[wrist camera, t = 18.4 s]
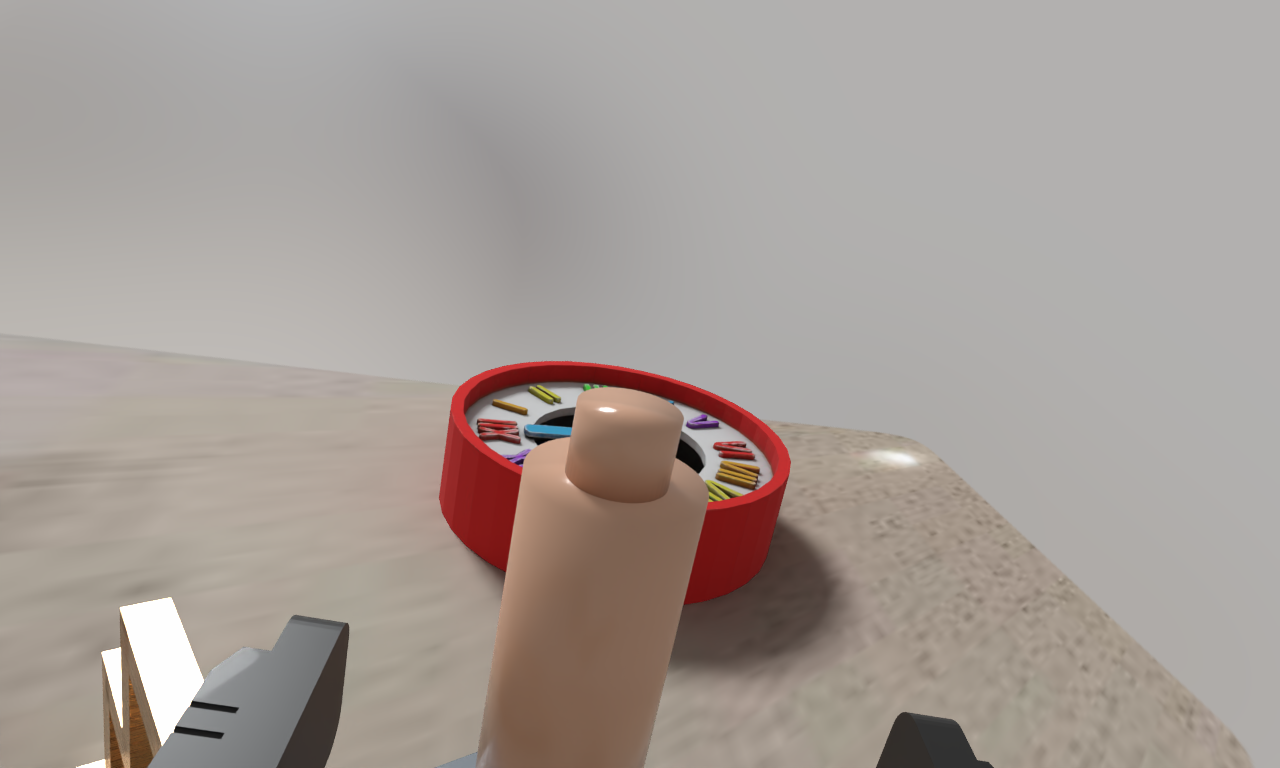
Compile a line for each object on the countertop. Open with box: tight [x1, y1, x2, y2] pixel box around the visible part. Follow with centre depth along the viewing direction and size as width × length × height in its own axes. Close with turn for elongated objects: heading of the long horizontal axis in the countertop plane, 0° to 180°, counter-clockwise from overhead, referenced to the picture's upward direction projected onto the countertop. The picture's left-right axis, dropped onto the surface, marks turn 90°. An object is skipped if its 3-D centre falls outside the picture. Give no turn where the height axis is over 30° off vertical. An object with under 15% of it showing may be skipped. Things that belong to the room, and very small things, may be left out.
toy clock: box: [439, 361, 791, 605], centre depth 52 cm, size 20×6×20 cm
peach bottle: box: [475, 387, 709, 768], centre depth 25 cm, size 5×5×16 cm
